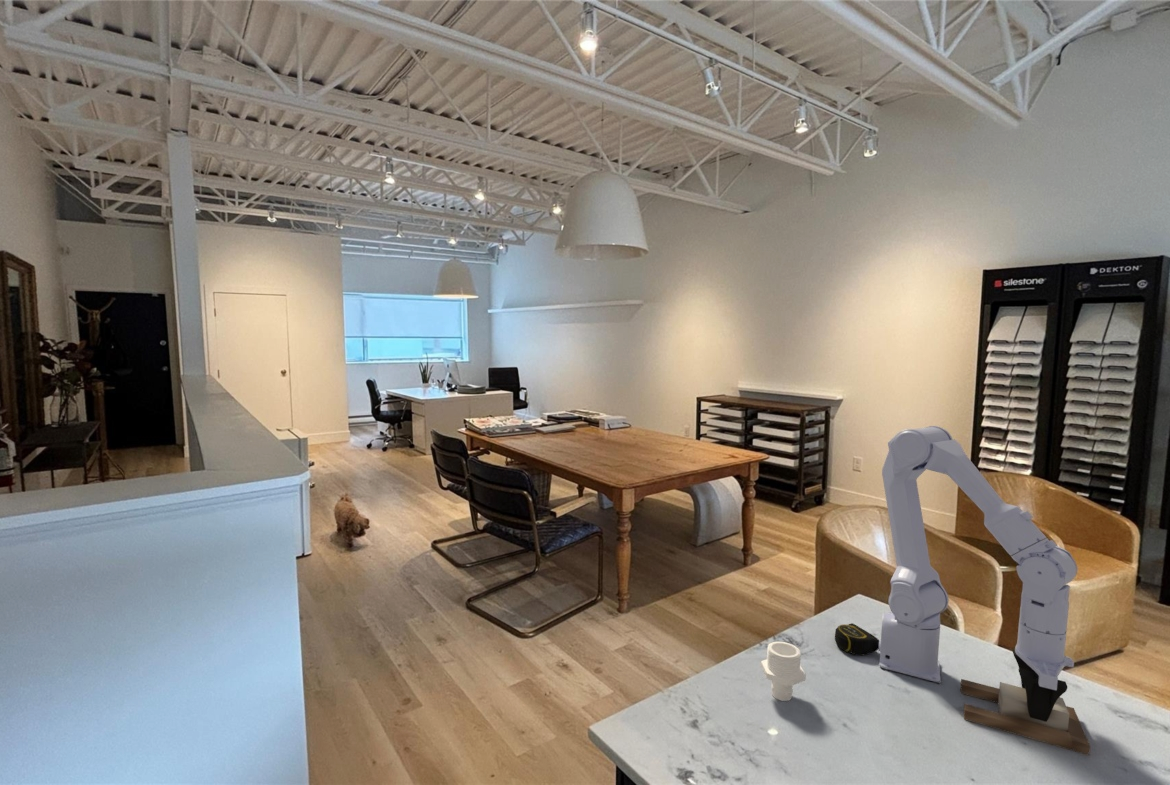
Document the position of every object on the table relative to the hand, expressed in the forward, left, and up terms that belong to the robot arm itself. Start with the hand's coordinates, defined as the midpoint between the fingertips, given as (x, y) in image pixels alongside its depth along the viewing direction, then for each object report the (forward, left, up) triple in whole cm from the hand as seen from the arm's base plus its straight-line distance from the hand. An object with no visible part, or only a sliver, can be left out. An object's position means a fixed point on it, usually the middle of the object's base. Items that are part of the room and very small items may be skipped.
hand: (1035, 709), depth 89 cm
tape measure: (-26, +10, -3) cm, 28 cm away
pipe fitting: (-35, -14, -2) cm, 38 cm away
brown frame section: (-2, 0, -2) cm, 3 cm away
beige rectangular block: (0, 0, -2) cm, 2 cm away
